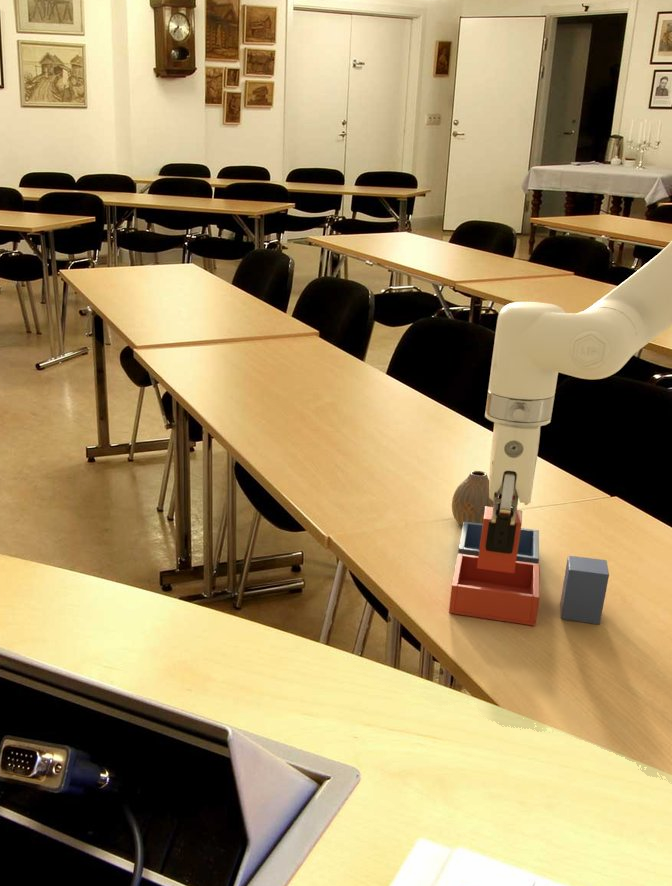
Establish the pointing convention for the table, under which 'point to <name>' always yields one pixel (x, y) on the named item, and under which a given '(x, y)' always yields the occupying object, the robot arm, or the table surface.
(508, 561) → the red block
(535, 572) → the red bin
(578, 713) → the table surface
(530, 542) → the blue bin
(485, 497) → the vase
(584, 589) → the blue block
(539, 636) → the table surface
